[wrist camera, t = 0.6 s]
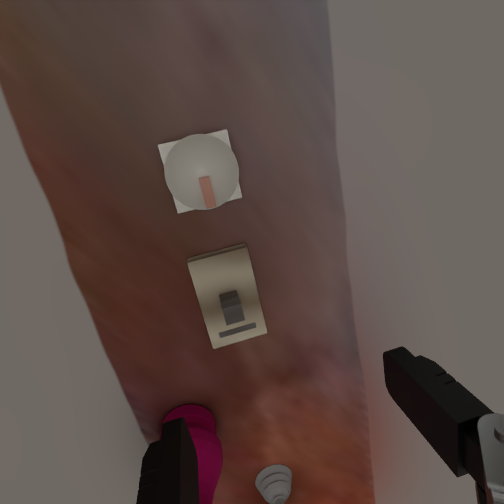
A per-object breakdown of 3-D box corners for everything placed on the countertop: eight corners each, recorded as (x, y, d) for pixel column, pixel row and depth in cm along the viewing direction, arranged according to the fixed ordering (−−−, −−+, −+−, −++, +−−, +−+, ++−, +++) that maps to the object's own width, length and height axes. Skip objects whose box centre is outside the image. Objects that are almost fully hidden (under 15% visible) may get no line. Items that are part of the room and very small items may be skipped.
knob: (160, 145, 29) (153, 143, 24) (222, 131, 30) (230, 125, 24) (178, 207, 31) (176, 219, 25) (237, 193, 31) (247, 201, 26)
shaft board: (187, 258, 32) (187, 274, 28) (244, 243, 33) (253, 256, 29) (212, 341, 36) (215, 368, 31) (264, 325, 36) (274, 349, 32)
